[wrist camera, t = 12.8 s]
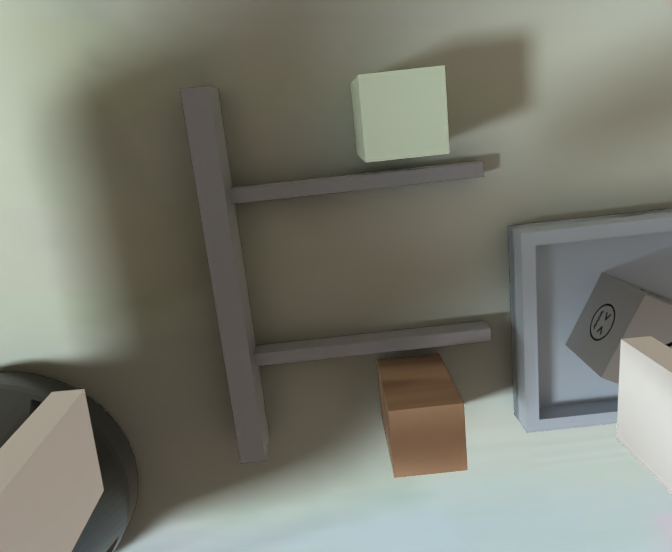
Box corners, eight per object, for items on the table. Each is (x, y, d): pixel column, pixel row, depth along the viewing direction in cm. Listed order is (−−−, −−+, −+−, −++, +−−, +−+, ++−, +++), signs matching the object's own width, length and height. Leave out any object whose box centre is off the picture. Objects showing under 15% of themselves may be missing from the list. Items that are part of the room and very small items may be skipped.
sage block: (424, 147, 35) (449, 153, 29) (356, 154, 35) (365, 162, 29) (420, 75, 34) (444, 65, 28) (350, 83, 34) (357, 74, 28)
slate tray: (704, 393, 40) (729, 411, 37) (514, 413, 40) (526, 432, 37) (714, 203, 37) (742, 209, 34) (507, 225, 37) (521, 233, 34)
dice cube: (635, 370, 38) (681, 407, 33) (565, 344, 38) (601, 377, 33) (673, 299, 37) (726, 326, 32) (602, 272, 37) (645, 294, 32)
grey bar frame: (488, 412, 40) (501, 435, 37) (246, 438, 40) (240, 463, 37) (472, 60, 34) (486, 55, 31) (191, 91, 34) (179, 88, 31)
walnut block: (442, 410, 40) (467, 469, 33) (381, 416, 40) (394, 477, 33) (438, 353, 39) (463, 403, 32) (376, 360, 39) (388, 411, 32)
